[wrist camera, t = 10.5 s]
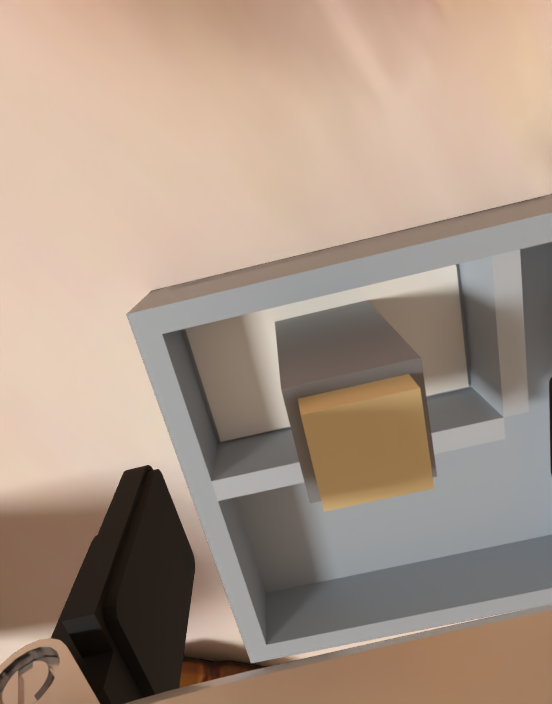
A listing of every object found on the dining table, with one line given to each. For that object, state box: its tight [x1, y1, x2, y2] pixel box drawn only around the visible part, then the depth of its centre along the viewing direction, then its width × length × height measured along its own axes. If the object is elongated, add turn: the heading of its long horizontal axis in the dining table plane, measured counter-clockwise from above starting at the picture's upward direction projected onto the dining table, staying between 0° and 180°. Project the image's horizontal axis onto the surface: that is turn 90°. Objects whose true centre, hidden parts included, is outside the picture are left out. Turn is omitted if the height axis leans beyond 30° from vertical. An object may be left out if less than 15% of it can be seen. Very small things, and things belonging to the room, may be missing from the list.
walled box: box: [126, 194, 552, 663], centre depth 21 cm, size 18×18×4 cm
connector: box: [275, 300, 437, 512], centre depth 16 cm, size 4×4×8 cm
